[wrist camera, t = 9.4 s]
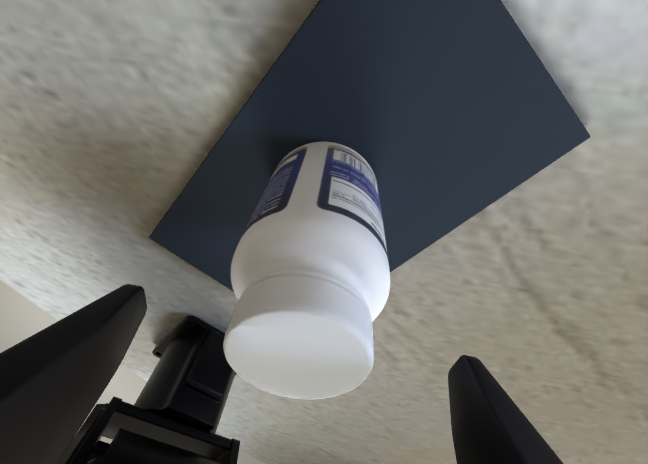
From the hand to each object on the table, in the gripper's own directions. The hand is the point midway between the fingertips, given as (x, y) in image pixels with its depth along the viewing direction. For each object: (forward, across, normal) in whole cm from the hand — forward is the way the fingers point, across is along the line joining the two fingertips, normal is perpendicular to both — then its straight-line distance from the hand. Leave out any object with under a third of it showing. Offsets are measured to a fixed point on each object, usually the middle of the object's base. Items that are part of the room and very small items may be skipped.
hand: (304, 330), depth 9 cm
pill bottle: (+9, 0, 0) cm, 9 cm away
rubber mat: (+9, 0, 0) cm, 9 cm away
